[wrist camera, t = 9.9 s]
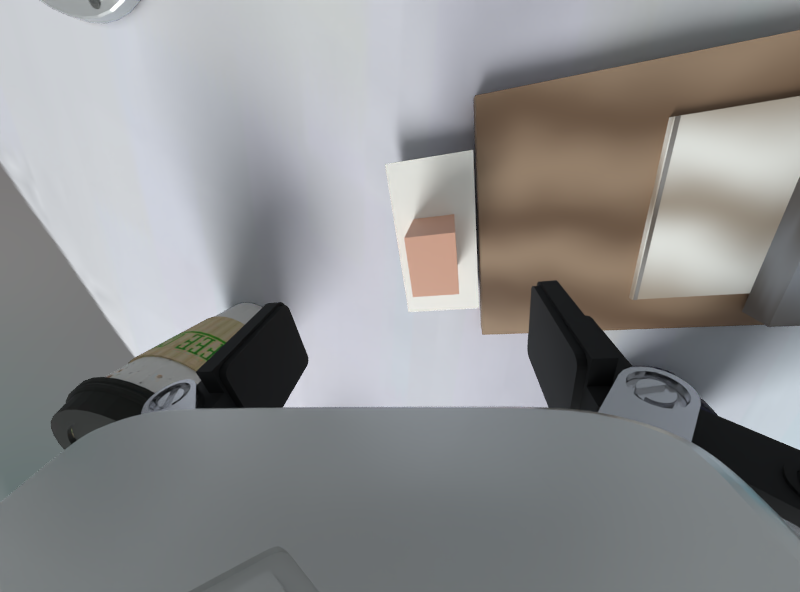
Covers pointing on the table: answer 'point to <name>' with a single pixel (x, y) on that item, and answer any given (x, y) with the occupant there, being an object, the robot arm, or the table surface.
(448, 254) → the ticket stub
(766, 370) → the table surface
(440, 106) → the table surface
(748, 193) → the board
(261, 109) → the table surface
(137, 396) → the coffee cup
